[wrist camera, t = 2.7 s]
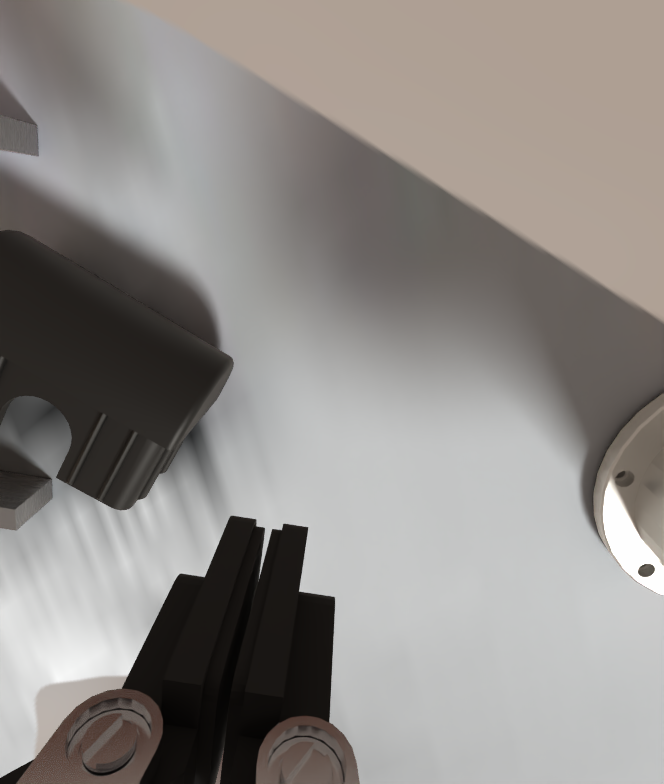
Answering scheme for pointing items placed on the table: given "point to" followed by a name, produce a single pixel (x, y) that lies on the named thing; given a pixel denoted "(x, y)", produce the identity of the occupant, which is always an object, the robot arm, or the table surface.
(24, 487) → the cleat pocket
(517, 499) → the table surface
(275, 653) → the robot arm
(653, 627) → the table surface
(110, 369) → the end cap
